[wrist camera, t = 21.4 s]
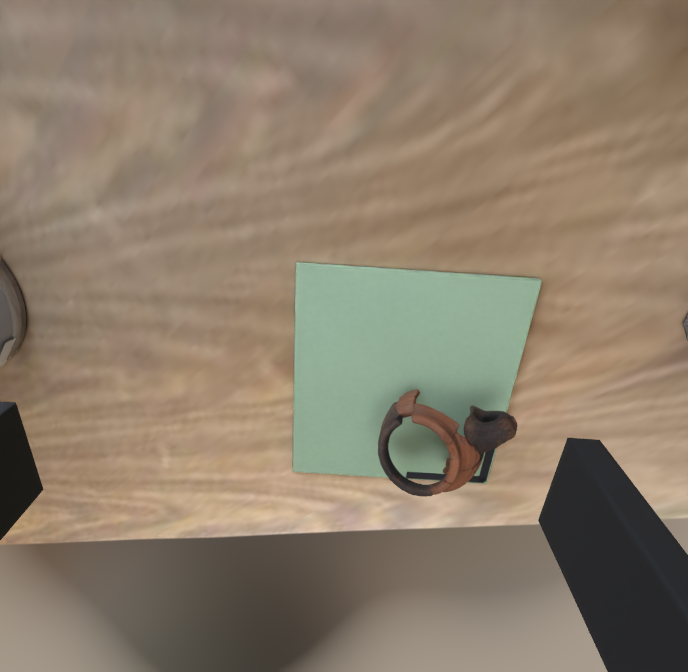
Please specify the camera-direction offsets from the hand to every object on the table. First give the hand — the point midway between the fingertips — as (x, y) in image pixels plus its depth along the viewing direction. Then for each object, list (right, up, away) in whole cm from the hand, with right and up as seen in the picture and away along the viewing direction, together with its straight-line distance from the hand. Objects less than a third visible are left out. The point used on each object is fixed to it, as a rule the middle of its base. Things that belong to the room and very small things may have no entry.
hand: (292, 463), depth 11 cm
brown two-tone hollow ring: (+11, -5, +31) cm, 33 cm away
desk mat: (+7, -1, +30) cm, 31 cm away
